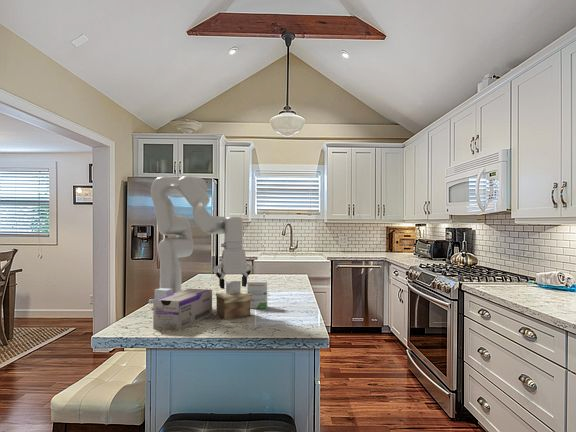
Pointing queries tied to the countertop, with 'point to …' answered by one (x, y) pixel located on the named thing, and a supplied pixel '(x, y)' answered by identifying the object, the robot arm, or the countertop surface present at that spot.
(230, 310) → the crate
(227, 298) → the lid
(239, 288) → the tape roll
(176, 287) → the robot arm
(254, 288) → the ink box
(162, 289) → the skincare box
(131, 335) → the countertop surface
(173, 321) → the surgical sutures box
